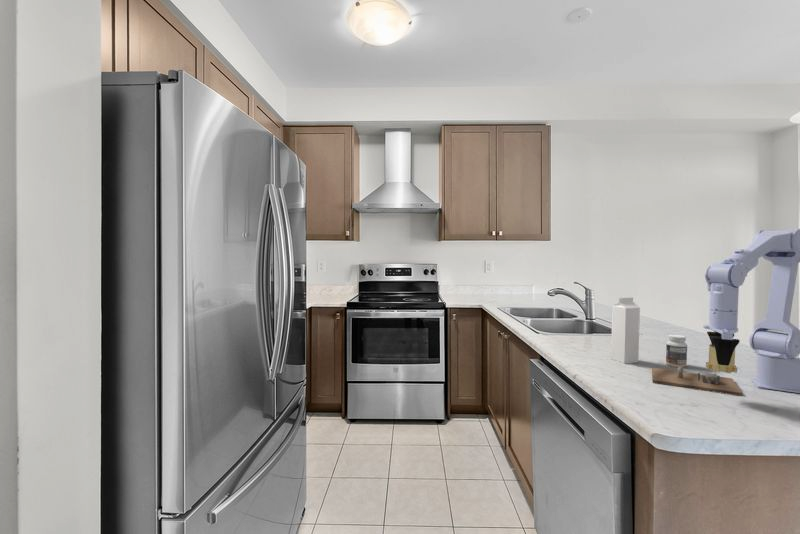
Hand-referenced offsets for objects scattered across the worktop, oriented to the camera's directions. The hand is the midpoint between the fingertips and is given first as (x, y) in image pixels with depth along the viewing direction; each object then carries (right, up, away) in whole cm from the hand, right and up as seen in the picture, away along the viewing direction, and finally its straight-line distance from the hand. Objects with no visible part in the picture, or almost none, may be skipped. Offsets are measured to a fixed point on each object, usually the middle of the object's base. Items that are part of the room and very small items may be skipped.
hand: (721, 362), depth 105 cm
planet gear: (0, -2, 0) cm, 2 cm away
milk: (-6, -8, +35) cm, 36 cm away
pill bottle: (+9, -8, +30) cm, 32 cm away
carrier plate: (+2, -9, +13) cm, 16 cm away
